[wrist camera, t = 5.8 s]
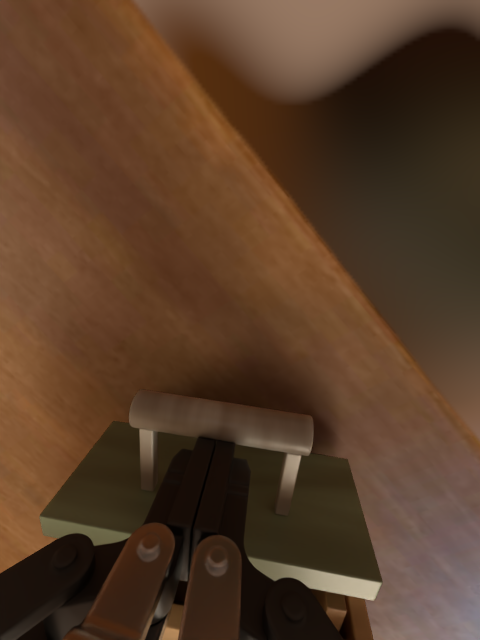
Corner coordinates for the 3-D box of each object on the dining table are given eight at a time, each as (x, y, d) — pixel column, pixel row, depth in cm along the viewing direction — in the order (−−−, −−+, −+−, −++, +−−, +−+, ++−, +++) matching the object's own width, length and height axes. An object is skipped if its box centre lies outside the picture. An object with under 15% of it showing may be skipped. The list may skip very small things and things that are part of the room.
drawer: (108, 343, 15) (17, 413, 10) (371, 380, 14) (427, 482, 9) (123, 576, 22) (74, 693, 17) (302, 612, 21) (311, 749, 16)
